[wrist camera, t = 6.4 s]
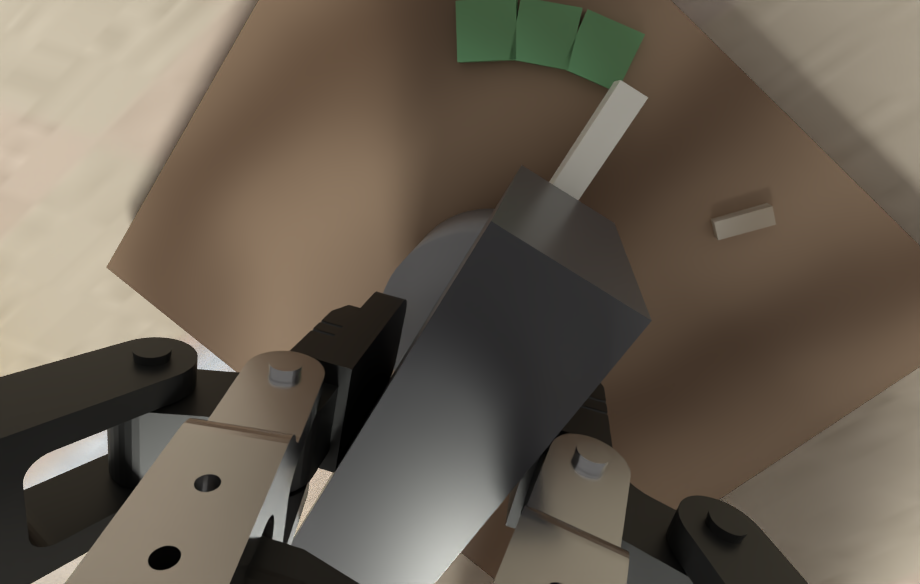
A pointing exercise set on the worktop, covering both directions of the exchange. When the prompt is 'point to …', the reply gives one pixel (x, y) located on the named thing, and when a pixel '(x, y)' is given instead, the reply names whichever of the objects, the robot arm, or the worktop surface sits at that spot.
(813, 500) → the worktop surface
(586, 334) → the dial pointer knob
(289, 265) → the dial plate
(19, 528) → the robot arm
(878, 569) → the worktop surface
